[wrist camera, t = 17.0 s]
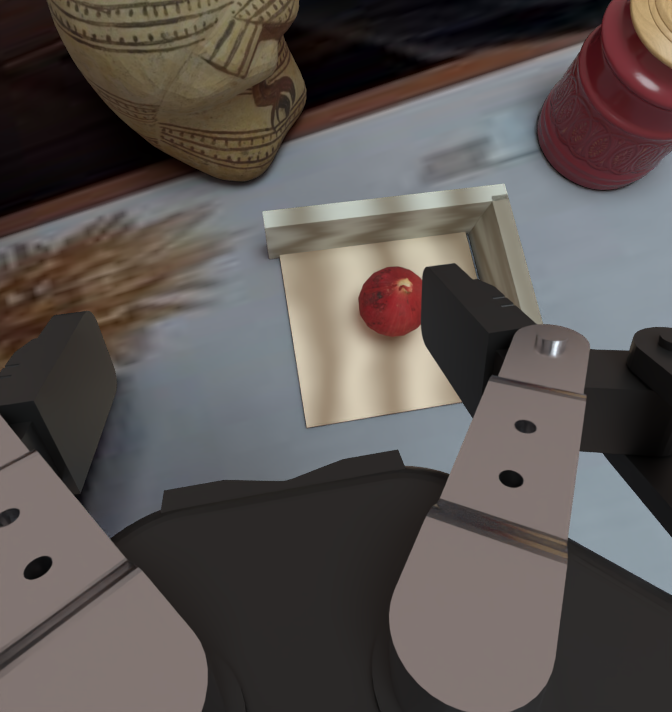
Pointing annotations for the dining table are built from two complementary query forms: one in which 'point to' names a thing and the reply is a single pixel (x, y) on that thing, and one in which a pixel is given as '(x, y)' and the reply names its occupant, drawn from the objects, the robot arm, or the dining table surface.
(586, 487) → the dining table surface
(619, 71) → the canister
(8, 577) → the robot arm
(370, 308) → the pomegranate
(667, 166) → the dining table surface
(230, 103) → the ceramic vessel
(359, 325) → the tray
